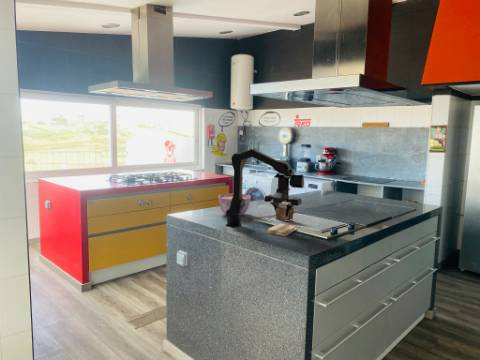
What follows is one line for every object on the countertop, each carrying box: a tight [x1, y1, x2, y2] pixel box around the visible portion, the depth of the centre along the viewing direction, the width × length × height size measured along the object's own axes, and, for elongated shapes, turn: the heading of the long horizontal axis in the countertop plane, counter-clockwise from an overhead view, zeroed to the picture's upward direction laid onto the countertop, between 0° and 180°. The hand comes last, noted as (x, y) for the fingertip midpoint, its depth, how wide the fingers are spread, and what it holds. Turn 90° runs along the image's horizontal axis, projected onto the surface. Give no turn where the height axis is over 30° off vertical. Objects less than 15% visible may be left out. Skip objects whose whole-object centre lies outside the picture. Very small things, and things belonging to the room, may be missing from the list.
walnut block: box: [275, 206, 289, 222], centre depth 192 cm, size 5×5×6 cm
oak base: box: [266, 223, 296, 237], centre depth 193 cm, size 10×14×2 cm
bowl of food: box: [217, 193, 252, 217], centre depth 226 cm, size 20×20×12 cm
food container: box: [279, 202, 296, 220], centre depth 216 cm, size 12×6×10 cm, turn 45°
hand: (282, 216), depth 192 cm, fingers closed on walnut block, 5 cm apart
